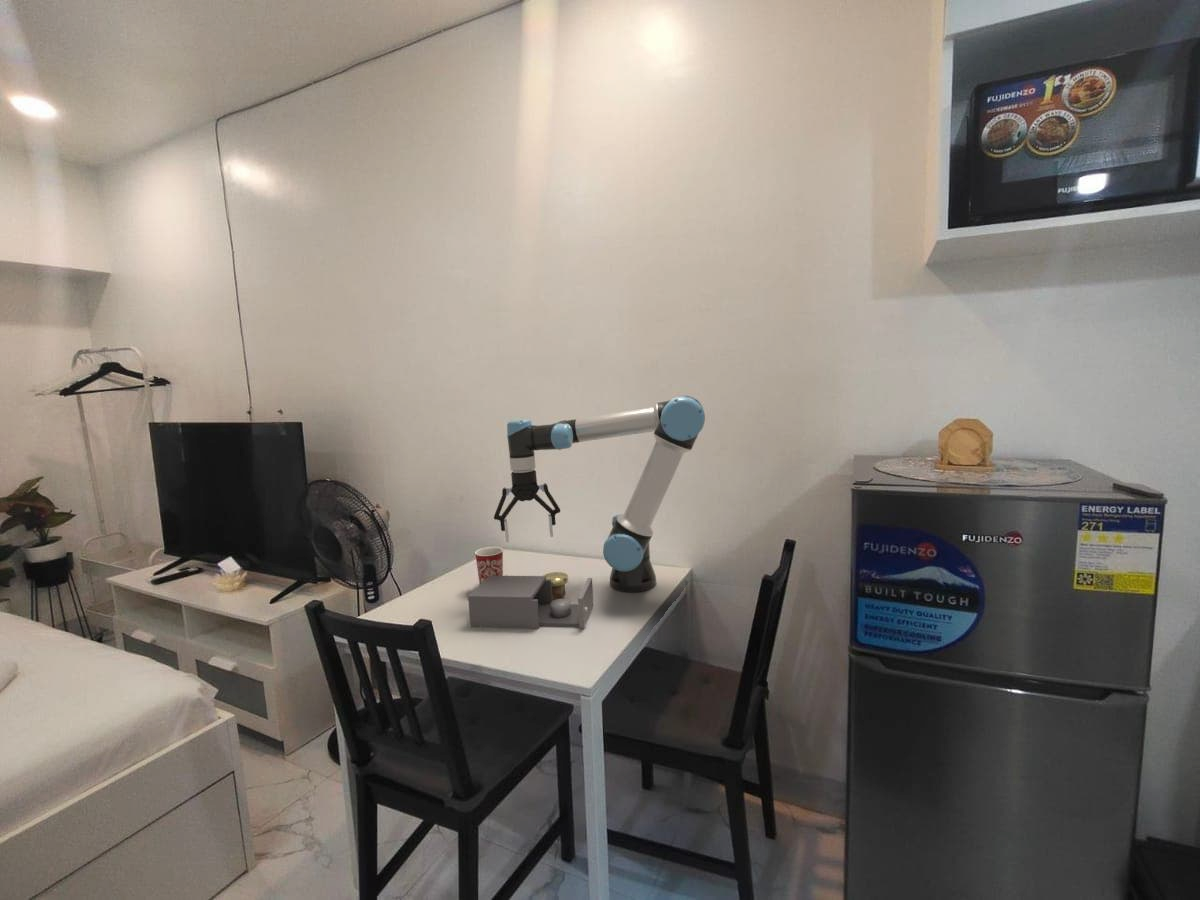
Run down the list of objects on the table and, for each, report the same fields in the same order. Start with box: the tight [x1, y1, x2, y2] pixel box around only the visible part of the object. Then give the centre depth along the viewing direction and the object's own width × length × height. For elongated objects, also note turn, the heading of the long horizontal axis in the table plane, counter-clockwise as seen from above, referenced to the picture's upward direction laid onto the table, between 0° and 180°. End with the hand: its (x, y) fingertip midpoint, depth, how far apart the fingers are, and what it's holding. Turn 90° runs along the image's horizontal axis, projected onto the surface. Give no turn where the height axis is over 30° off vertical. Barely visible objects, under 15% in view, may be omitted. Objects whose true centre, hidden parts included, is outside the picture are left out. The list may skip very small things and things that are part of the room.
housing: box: [467, 575, 553, 630], centre depth 154 cm, size 20×16×9 cm
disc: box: [542, 571, 569, 587], centre depth 166 cm, size 8×8×2 cm
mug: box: [474, 546, 504, 585], centre depth 175 cm, size 13×9×14 cm
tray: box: [538, 577, 594, 630], centre depth 152 cm, size 20×15×8 cm
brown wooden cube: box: [552, 584, 566, 600], centre depth 166 cm, size 5×5×5 cm
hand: (529, 538), depth 165 cm, fingers open, 13 cm apart
